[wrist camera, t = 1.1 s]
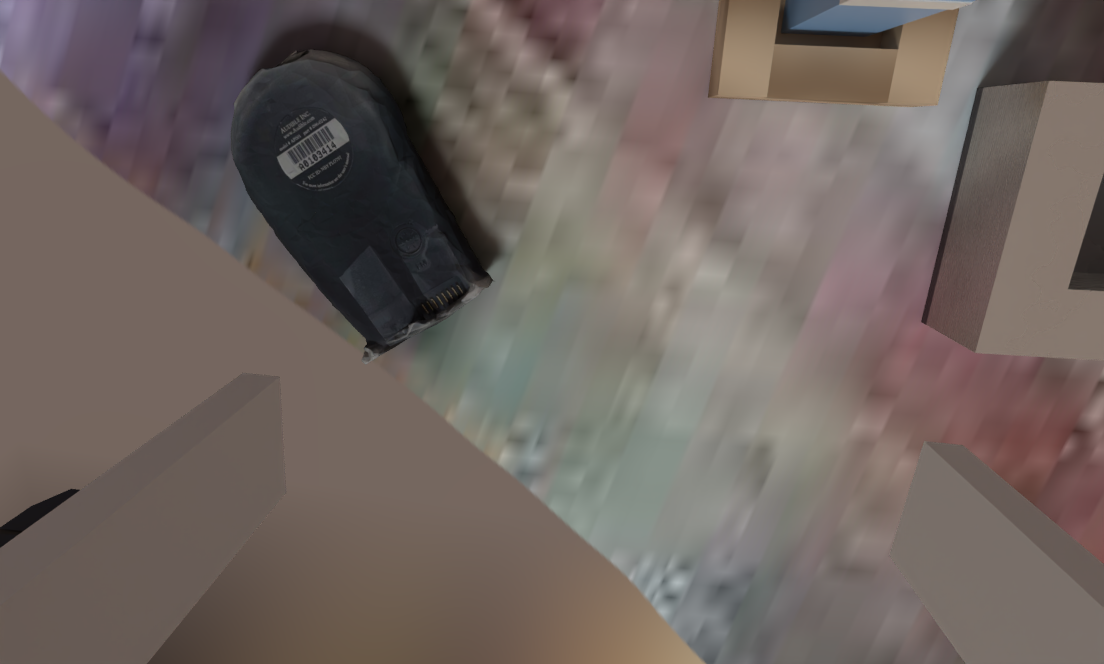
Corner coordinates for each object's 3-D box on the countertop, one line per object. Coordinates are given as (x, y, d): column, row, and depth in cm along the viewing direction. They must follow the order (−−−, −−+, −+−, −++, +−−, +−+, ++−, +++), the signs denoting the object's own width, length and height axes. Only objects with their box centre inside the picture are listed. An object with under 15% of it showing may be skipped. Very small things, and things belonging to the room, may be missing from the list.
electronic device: (513, 258, 36) (345, 11, 31) (497, 300, 31) (295, 16, 26) (391, 326, 39) (218, 113, 34) (359, 374, 35) (151, 134, 29)
